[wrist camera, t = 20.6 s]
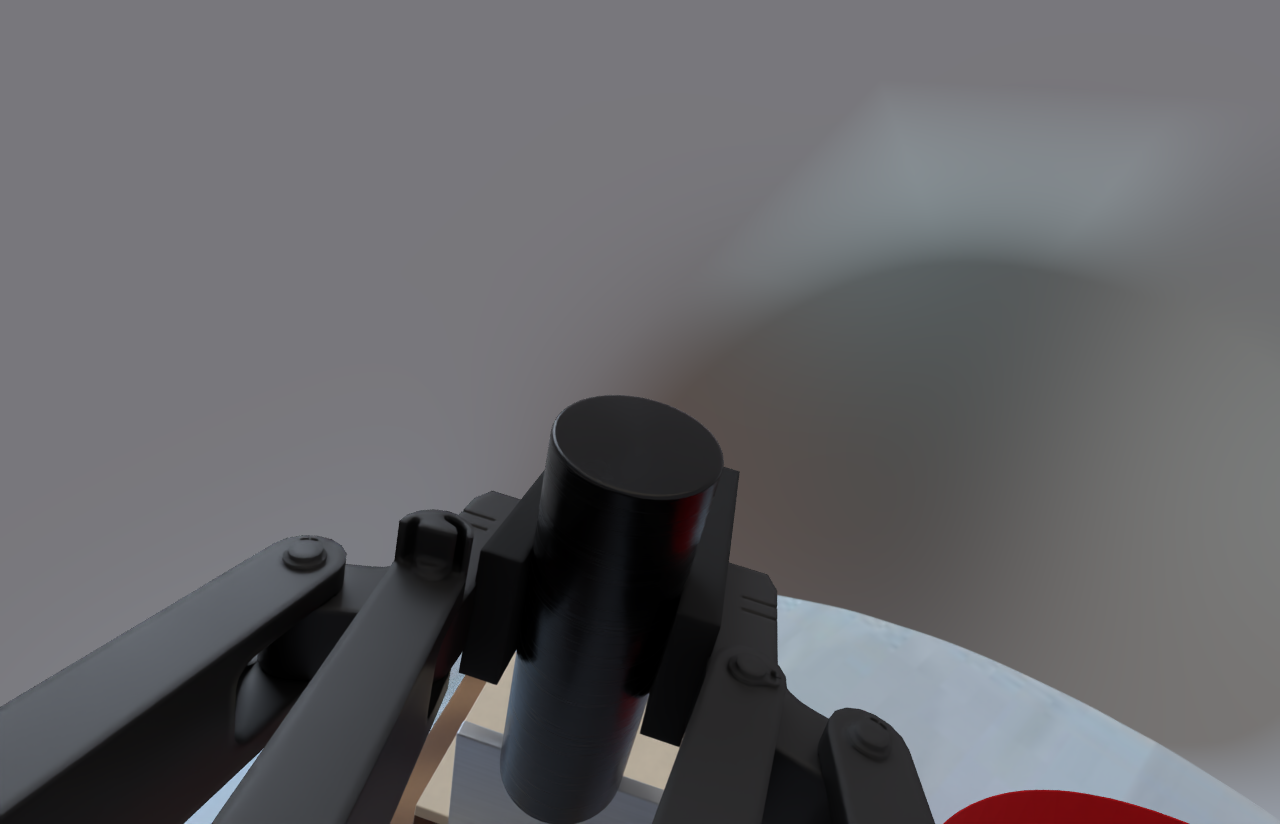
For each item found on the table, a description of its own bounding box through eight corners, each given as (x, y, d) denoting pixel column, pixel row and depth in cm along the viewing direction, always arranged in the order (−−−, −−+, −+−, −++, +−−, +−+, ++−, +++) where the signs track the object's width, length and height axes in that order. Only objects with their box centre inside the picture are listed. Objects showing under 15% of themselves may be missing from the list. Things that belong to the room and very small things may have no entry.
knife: (581, 1039, 19) (789, 543, 9) (417, 975, 20) (453, 439, 10) (607, 927, 22) (795, 440, 12) (460, 873, 22) (524, 360, 12)
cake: (664, 1001, 28) (701, 907, 26) (399, 902, 30) (415, 805, 28) (691, 800, 38) (720, 719, 36) (489, 731, 39) (505, 648, 37)
